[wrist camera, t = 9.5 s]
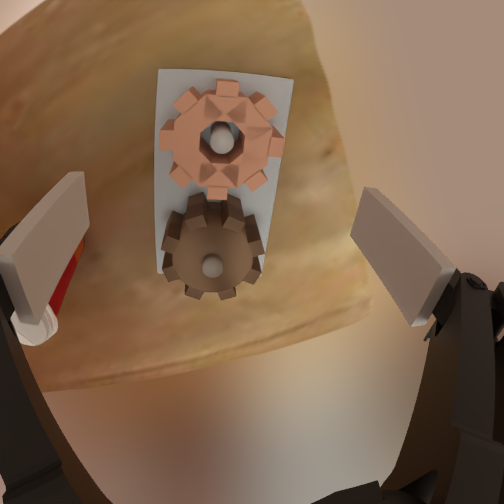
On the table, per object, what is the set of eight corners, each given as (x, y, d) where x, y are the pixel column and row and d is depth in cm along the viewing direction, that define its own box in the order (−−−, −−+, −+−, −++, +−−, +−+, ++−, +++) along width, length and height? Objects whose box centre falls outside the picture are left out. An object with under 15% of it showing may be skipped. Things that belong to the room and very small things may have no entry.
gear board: (159, 263, 37) (151, 303, 31) (161, 68, 25) (147, 69, 19) (258, 266, 39) (267, 306, 33) (288, 78, 27) (310, 83, 21)
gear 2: (167, 268, 35) (162, 306, 30) (166, 190, 30) (157, 219, 24) (251, 271, 36) (258, 309, 31) (262, 194, 31) (273, 225, 26)
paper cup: (34, 249, 33) (-14, 328, 22) (44, 200, 30) (-18, 274, 18) (85, 273, 36) (50, 360, 25) (100, 226, 33) (57, 312, 21)
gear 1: (166, 176, 29) (158, 197, 25) (171, 76, 24) (162, 78, 19) (265, 181, 30) (274, 203, 26) (279, 84, 25) (293, 89, 21)
